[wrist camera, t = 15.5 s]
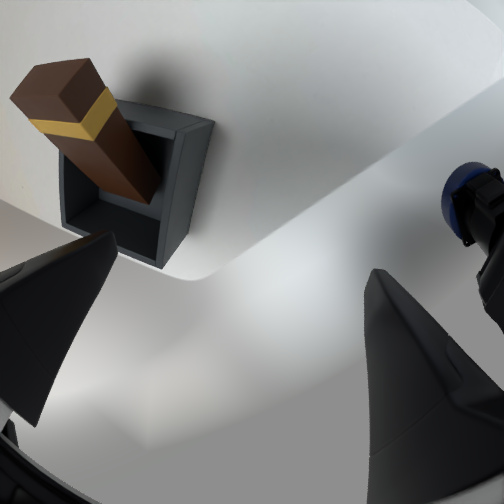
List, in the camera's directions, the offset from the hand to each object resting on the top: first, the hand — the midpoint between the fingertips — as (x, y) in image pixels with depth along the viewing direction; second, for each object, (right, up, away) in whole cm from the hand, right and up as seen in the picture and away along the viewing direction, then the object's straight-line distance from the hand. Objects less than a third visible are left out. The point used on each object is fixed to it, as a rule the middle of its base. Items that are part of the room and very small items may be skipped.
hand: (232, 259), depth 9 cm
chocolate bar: (-9, +6, +12) cm, 16 cm away
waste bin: (-8, +8, +13) cm, 17 cm away
